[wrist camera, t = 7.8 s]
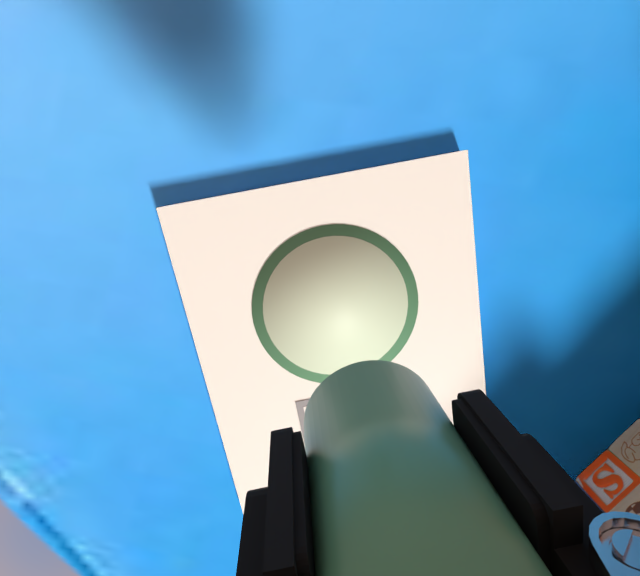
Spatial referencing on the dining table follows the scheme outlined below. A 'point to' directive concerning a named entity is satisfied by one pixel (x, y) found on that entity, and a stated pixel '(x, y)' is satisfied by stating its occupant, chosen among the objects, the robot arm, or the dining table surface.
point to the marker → (401, 484)
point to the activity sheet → (327, 292)
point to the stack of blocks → (616, 475)
